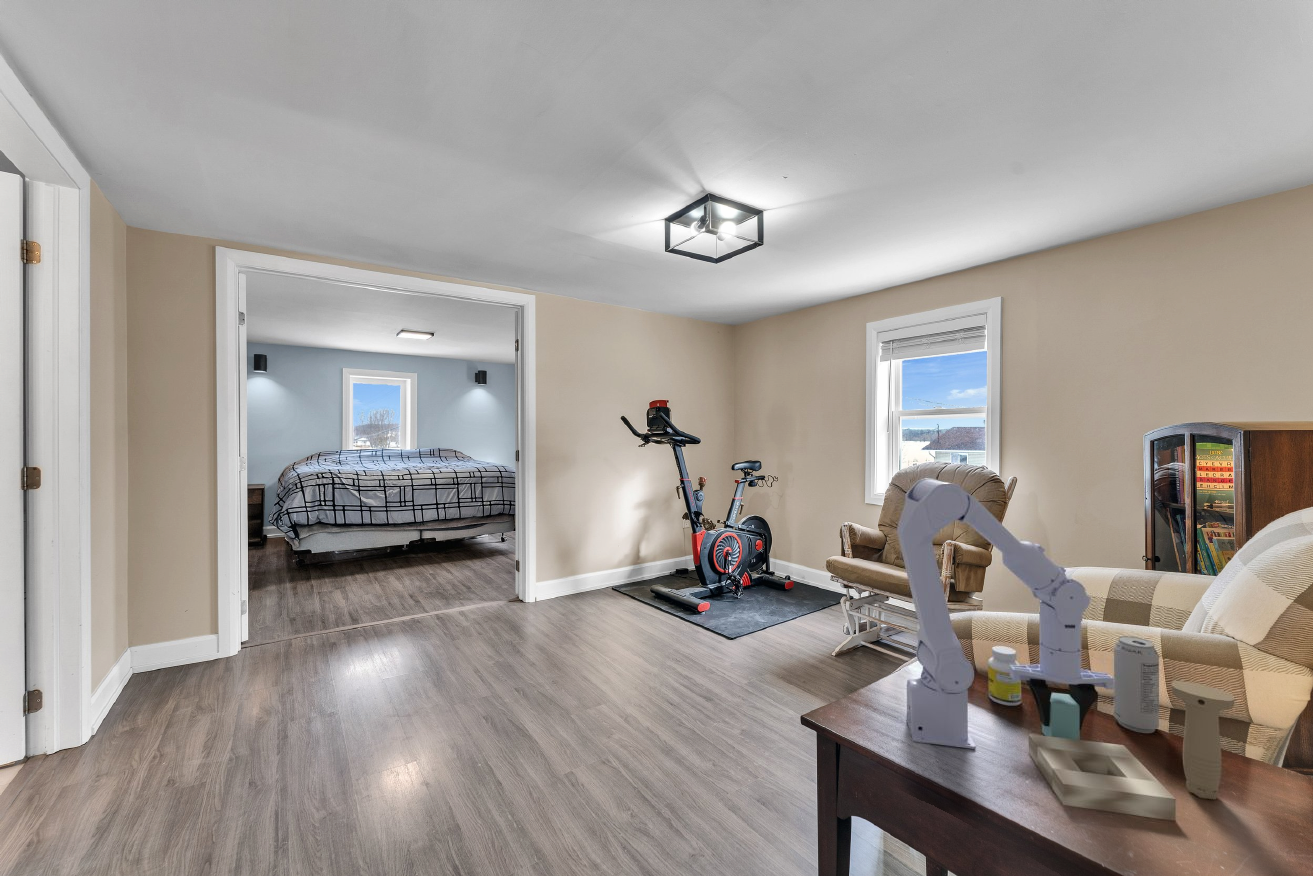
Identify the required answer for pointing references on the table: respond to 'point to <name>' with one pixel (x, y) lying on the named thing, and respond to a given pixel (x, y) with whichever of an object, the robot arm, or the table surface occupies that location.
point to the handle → (1202, 735)
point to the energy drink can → (1136, 684)
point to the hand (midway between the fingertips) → (1060, 725)
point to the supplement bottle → (1003, 677)
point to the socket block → (1100, 777)
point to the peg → (1063, 717)
